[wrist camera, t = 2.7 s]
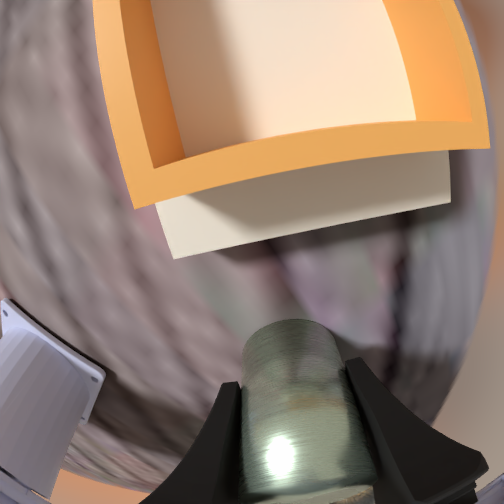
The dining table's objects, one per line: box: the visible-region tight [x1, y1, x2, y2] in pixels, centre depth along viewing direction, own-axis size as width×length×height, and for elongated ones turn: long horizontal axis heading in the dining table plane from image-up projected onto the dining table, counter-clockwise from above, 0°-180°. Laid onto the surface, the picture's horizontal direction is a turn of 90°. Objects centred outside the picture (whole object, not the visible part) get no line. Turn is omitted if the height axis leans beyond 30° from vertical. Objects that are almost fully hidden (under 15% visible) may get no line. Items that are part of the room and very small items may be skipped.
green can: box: [238, 319, 378, 504], centre depth 9 cm, size 4×4×7 cm
